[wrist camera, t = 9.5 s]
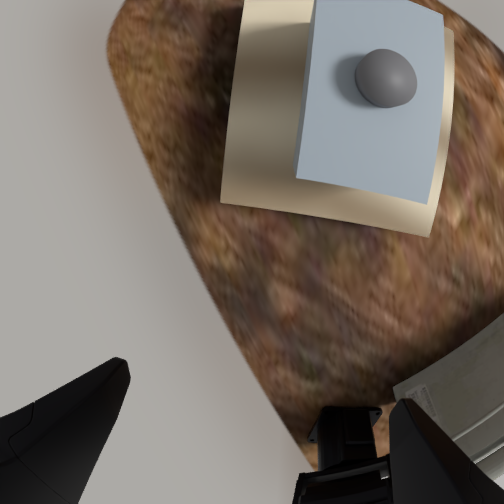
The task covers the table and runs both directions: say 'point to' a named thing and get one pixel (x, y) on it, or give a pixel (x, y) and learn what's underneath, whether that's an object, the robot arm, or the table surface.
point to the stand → (286, 126)
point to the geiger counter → (467, 396)
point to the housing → (372, 97)
